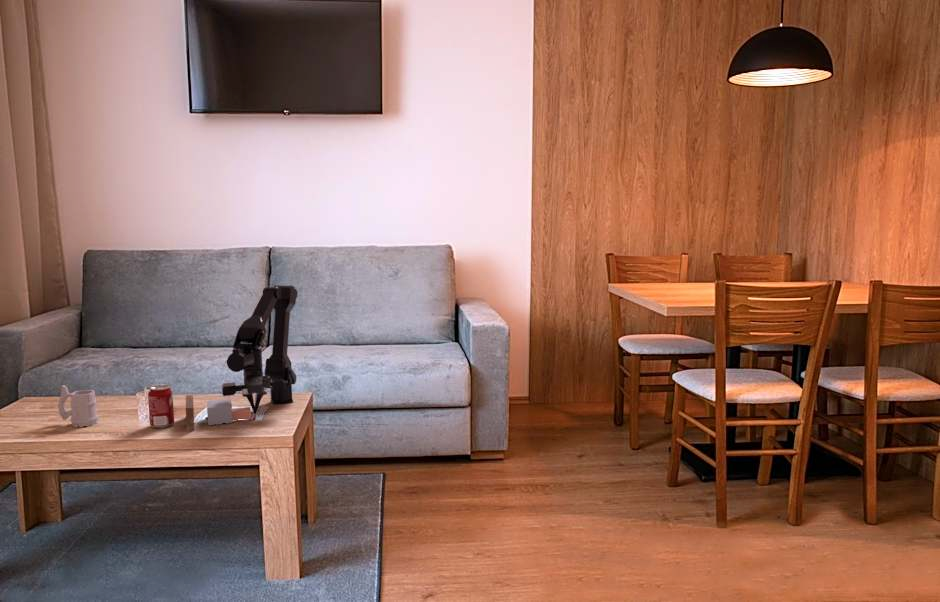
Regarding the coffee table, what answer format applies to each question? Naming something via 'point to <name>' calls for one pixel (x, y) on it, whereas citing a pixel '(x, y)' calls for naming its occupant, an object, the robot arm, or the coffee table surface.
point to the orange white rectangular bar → (241, 413)
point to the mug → (79, 407)
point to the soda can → (161, 406)
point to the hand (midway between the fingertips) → (255, 413)
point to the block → (219, 411)
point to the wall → (189, 413)
